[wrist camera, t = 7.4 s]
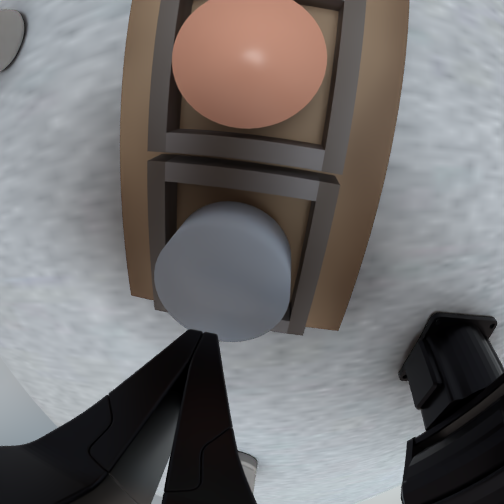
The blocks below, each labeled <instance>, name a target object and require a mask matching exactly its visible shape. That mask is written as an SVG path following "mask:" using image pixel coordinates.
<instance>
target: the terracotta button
mask: <svg viewBox="0 0 504 504" xmlns="http://www.w3.org/2000/svg"><path fill="white" fill-rule="evenodd" d="M326 66H327V49H326V44H325V40H324V36H323V34H322V32H321V29H320V27H319V26H318V24H317V23H316V21H315V20H314V18H313V17H312V16H311V15H310V14H309V12H307V11H306V10H305V9H304V8H303V7H302V6H301V5H299V4H298V3H296V2H295V1H293V0H208V1H207V2H205V3H204V4H202V5H201V6H200V7H198V8H197V9H196V10H195V11H194V12H193V13H192V14H191V15H190V16H189V17H188V18H187V19H186V21H185V22H184V24H183V25H182V27H181V28H180V30H179V32H178V35H177V37H176V40H175V43H174V47H173V52H172V69H173V74H174V78H175V81H176V84H177V86H178V89H179V90H180V92H181V94H182V96H183V97H184V98H185V100H186V101H187V102H188V103H189V104H190V105H191V106H192V107H193V108H194V109H195V110H196V111H197V112H199V113H200V114H201V115H203V116H204V117H206V118H208V119H209V120H211V121H214V122H216V123H219V124H222V125H225V126H229V127H235V128H246V129H251V128H261V127H266V126H270V125H274V124H277V123H280V122H282V121H284V120H286V119H288V118H290V117H291V116H293V115H295V114H296V113H298V112H299V111H300V110H301V109H303V108H304V107H305V106H306V105H307V104H308V103H309V102H310V101H311V100H312V98H313V97H314V95H315V94H316V93H317V91H318V89H319V87H320V86H321V84H322V81H323V78H324V75H325V71H326Z"/></svg>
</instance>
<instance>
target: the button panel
mask: <svg viewBox="0 0 504 504" xmlns="http://www.w3.org/2000/svg"><path fill="white" fill-rule="evenodd" d="M207 1H208V0H132V5H131V11H130V17H129V24H128V31H127V39H126V47H125V56H124V67H123V79H122V95H121V118H120V175H121V199H122V215H123V229H124V240H125V250H126V259H127V268H128V276H129V283H130V291H131V295H132V296H136V297H141V298H145V299H150V300H154V307H155V310H159V311H164V312H168V311H167V310H166V309H165V307H164V306H163V304H162V302H161V301H160V298H159V296H158V294H157V291H156V287H155V281H154V270H155V264H156V261H157V258H158V256H159V254H160V252H161V251H162V249H163V248H164V247H165V245H166V244H167V243H168V242H169V240H170V239H171V238H172V237H173V235H174V234H175V233H176V232H177V230H178V229H179V228H180V227H181V225H182V224H183V223H184V222H185V221H186V219H187V218H188V217H189V216H190V215H191V214H192V213H194V212H195V211H196V210H198V209H200V208H202V207H204V206H206V205H209V204H212V203H216V202H223V201H233V202H241V203H245V204H248V205H251V206H254V207H256V208H258V209H260V210H262V211H263V212H265V213H266V214H268V215H269V216H270V217H272V218H273V219H274V220H275V221H276V222H277V223H278V225H279V226H280V227H281V229H282V230H283V231H284V233H285V235H286V237H287V239H288V242H289V245H290V250H291V286H290V300H289V305H288V308H287V311H286V313H285V314H284V316H283V318H282V319H281V321H280V322H279V323H278V324H277V325H276V326H275V327H274V328H273V329H271V330H270V331H274V332H280V333H287V334H295V335H302V336H303V333H304V329H305V327H312V328H320V329H328V330H336V331H338V330H339V328H340V325H341V322H342V320H343V317H344V314H345V311H346V309H347V306H348V303H349V300H350V297H351V294H352V291H353V288H354V285H355V282H356V279H357V276H358V273H359V270H360V267H361V264H362V261H363V257H364V254H365V251H366V247H367V244H368V241H369V237H370V234H371V230H372V227H373V223H374V219H375V216H376V212H377V208H378V204H379V200H380V196H381V192H382V188H383V184H384V180H385V175H386V171H387V166H388V162H389V157H390V152H391V147H392V142H393V137H394V132H395V126H396V121H397V115H398V109H399V102H400V96H401V89H402V82H403V74H404V65H405V56H406V46H407V34H408V19H409V0H293V1H295V2H296V3H298V4H299V5H301V6H302V7H303V8H304V9H305V10H306V11H307V12H309V14H310V15H311V16H312V17H313V18H314V20H315V21H316V23H317V24H318V26H319V27H320V29H321V32H322V34H323V36H324V40H325V44H326V49H327V66H326V71H325V75H324V78H323V81H322V84H321V86H320V87H319V89H318V91H317V93H316V94H315V95H314V97H313V98H312V100H311V101H310V102H309V103H308V104H307V105H306V106H305V107H304V108H303V109H301V110H300V111H299V112H298V113H296V114H295V115H293V116H291V117H290V118H288V119H286V120H284V121H282V122H280V123H277V124H274V125H270V126H266V127H261V128H251V129H246V128H235V127H229V126H225V125H222V124H219V123H216V122H214V121H211V120H209V119H208V118H206V117H204V116H203V115H201V114H200V113H199V112H197V111H196V110H195V109H194V108H193V107H192V106H191V105H190V104H189V103H188V102H187V101H186V100H185V98H184V97H183V96H182V94H181V92H180V90H179V89H178V86H177V84H176V81H175V78H174V74H173V69H172V52H173V47H174V43H175V40H176V37H177V35H178V32H179V30H180V28H181V27H182V25H183V24H184V22H185V21H186V19H187V18H188V17H189V16H190V15H191V14H192V13H193V12H194V11H195V10H196V9H197V8H198V7H200V6H201V5H202V4H204V3H205V2H207Z"/></svg>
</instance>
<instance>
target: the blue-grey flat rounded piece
mask: <svg viewBox="0 0 504 504" xmlns="http://www.w3.org/2000/svg"><path fill="white" fill-rule="evenodd" d="M154 281H155V287H156V291H157V294H158V296H159V298H160V301H161V302H162V304H163V306H164V307H165V309H166V310H167V311H168V313H169V314H170V315H171V316H172V317H173V318H174V319H175V320H176V321H177V322H179V323H180V324H181V325H182V326H184V327H185V328H187V329H188V330H189V329H195V330H200V331H202V332H203V333H204V332H210V333H215V334H217V335H218V340H219V341H225V342H238V341H246V340H250V339H254V338H257V337H259V336H261V335H263V334H265V333H267V332H269V331H270V330H271V329H273V328H274V327H275V326H276V325H277V324H278V323H279V322H280V321H281V319H282V318H283V316H284V314H285V313H286V311H287V308H288V305H289V300H290V286H291V250H290V245H289V242H288V239H287V237H286V235H285V233H284V231H283V230H282V229H281V227H280V226H279V225H278V223H277V222H276V221H275V220H274V219H273V218H272V217H270V216H269V215H268V214H266V213H265V212H263V211H262V210H260V209H258V208H256V207H254V206H251V205H248V204H245V203H241V202H233V201H223V202H216V203H212V204H209V205H206V206H204V207H202V208H200V209H198V210H196V211H195V212H194V213H192V214H191V215H190V216H189V217H188V218H187V219H186V221H185V222H184V223H183V224H182V225H181V227H180V228H179V229H178V230H177V232H176V233H175V234H174V235H173V237H172V238H171V239H170V240H169V242H168V243H167V244H166V245H165V247H164V248H163V249H162V251H161V252H160V254H159V256H158V258H157V261H156V264H155V270H154Z"/></svg>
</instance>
